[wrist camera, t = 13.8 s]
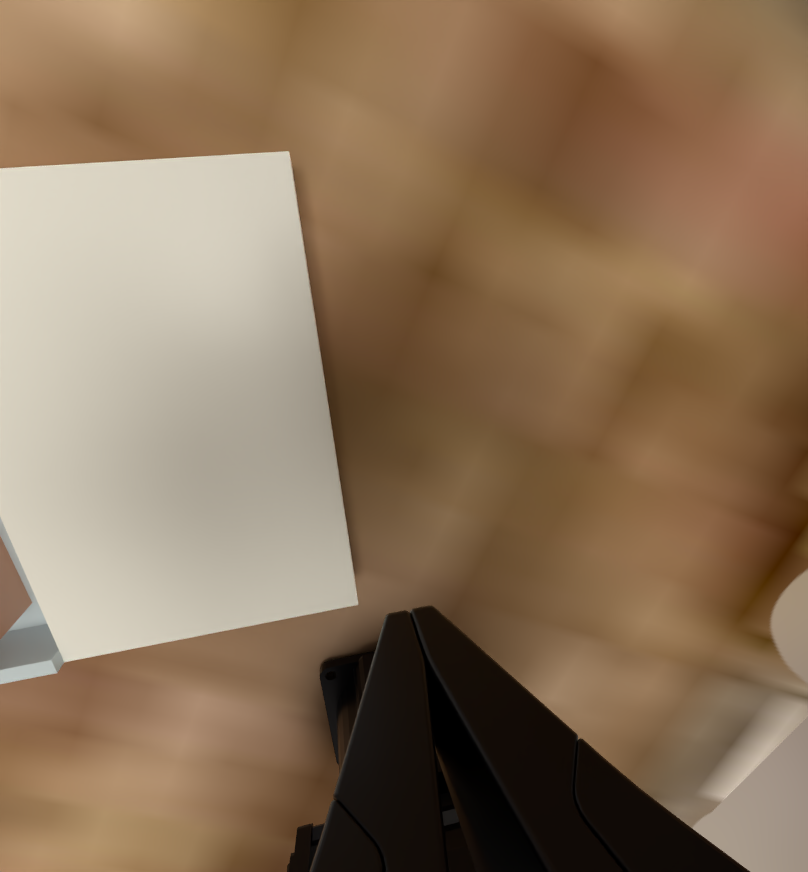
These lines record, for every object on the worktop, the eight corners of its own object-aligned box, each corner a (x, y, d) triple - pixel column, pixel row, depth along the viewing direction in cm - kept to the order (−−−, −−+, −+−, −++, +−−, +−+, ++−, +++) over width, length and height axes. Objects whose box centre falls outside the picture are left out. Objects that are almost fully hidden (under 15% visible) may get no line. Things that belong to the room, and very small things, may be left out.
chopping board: (354, 575, 21) (358, 604, 19) (88, 624, 19) (64, 662, 17) (292, 166, 15) (288, 150, 13) (-86, 190, 14) (-149, 177, 12)
